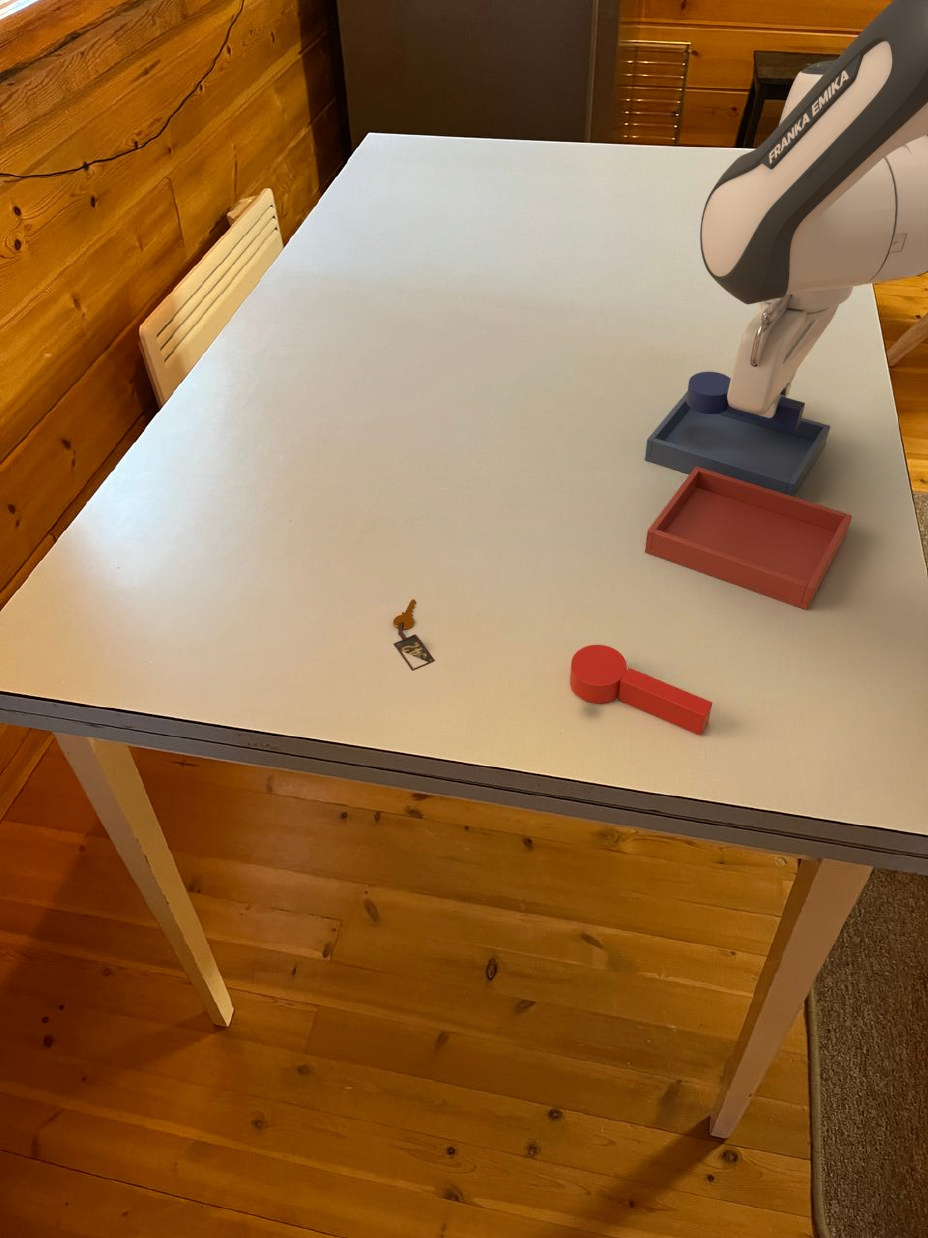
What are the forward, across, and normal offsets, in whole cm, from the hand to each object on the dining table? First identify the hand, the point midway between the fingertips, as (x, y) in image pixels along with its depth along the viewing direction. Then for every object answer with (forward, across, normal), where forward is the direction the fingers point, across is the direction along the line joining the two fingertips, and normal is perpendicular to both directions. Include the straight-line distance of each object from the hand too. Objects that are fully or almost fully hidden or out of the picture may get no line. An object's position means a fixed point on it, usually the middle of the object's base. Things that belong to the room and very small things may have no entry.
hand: (771, 405), depth 90 cm
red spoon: (+6, -35, -3) cm, 36 cm away
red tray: (+7, -13, -3) cm, 15 cm away
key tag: (+7, -38, +17) cm, 42 cm away
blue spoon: (+2, 0, +2) cm, 3 cm away
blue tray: (+7, 0, +3) cm, 7 cm away
